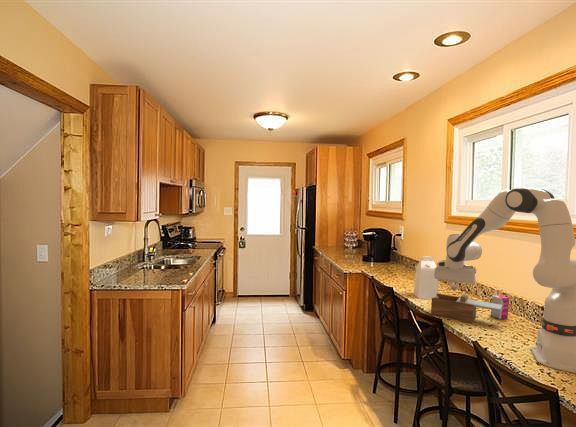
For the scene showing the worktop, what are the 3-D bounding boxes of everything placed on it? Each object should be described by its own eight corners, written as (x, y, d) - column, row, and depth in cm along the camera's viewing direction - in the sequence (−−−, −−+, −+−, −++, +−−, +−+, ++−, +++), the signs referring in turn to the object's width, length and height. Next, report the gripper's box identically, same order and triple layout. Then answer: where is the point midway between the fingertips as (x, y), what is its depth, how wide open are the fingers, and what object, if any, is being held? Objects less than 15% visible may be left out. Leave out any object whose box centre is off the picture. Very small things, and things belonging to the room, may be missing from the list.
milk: (432, 294, 231) (434, 255, 230) (438, 299, 220) (440, 258, 219) (413, 293, 233) (415, 254, 232) (418, 298, 221) (420, 257, 220)
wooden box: (472, 323, 178) (473, 305, 178) (431, 314, 190) (431, 297, 190) (475, 317, 188) (476, 299, 188) (436, 309, 200) (437, 293, 199)
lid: (500, 311, 172) (500, 304, 172) (455, 303, 184) (456, 296, 184) (502, 306, 180) (502, 300, 180) (459, 299, 192) (459, 293, 191)
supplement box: (499, 319, 185) (500, 298, 185) (490, 316, 191) (491, 295, 190) (508, 319, 187) (509, 297, 186) (498, 315, 192) (499, 294, 192)
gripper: (477, 265, 186) (476, 291, 187) (436, 261, 198) (435, 285, 199) (475, 266, 181) (474, 293, 182) (433, 262, 193) (432, 287, 193)
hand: (453, 289), depth 190 cm, fingers closed
